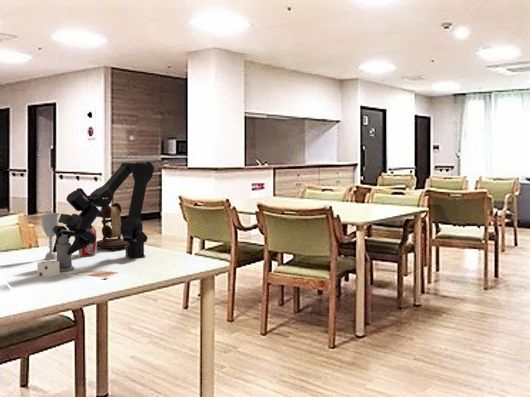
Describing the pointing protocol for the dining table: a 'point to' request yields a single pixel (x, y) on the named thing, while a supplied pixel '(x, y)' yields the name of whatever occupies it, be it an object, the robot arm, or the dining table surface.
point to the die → (48, 268)
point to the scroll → (115, 231)
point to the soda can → (89, 247)
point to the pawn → (64, 254)
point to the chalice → (50, 231)
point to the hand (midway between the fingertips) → (60, 253)
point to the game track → (86, 272)
